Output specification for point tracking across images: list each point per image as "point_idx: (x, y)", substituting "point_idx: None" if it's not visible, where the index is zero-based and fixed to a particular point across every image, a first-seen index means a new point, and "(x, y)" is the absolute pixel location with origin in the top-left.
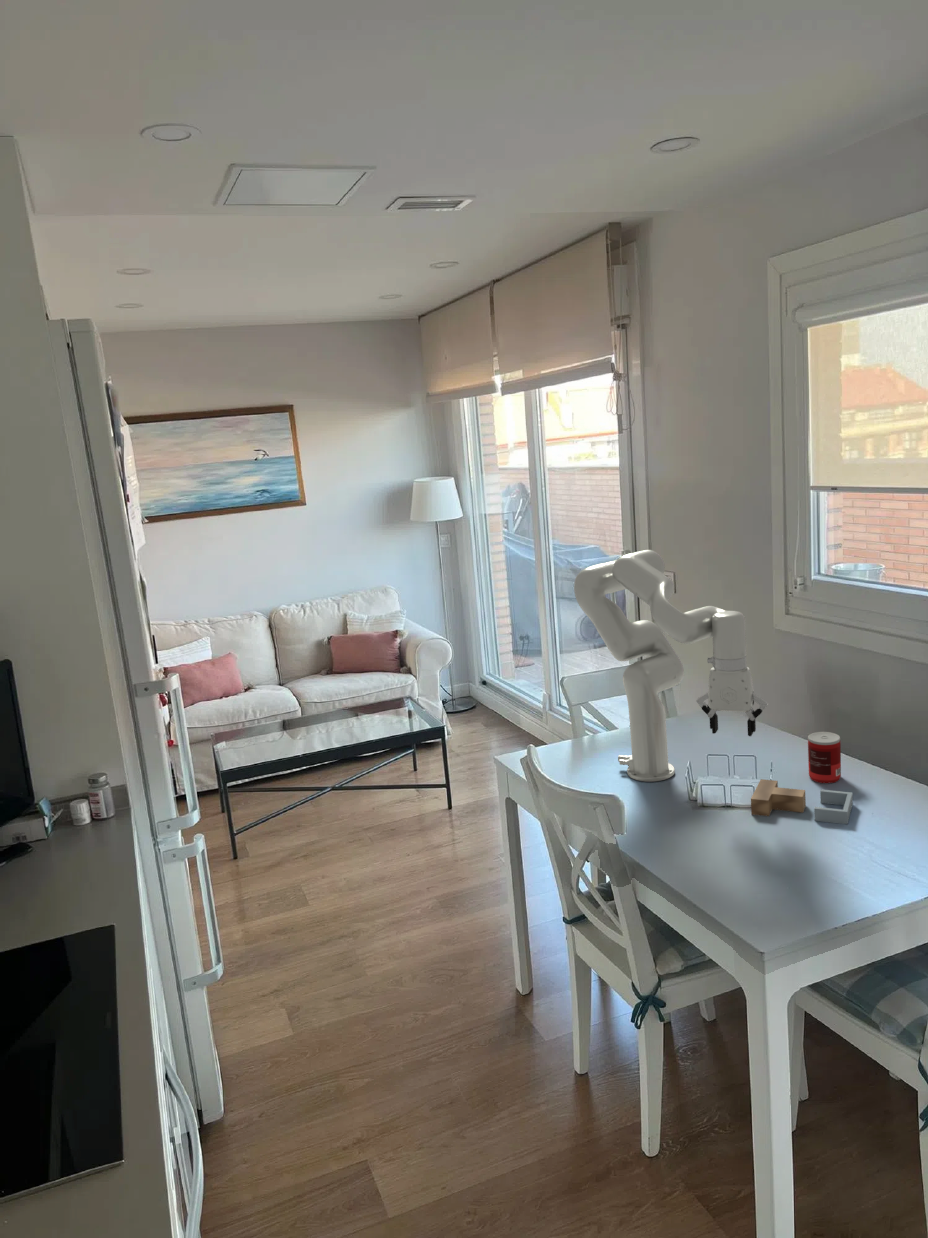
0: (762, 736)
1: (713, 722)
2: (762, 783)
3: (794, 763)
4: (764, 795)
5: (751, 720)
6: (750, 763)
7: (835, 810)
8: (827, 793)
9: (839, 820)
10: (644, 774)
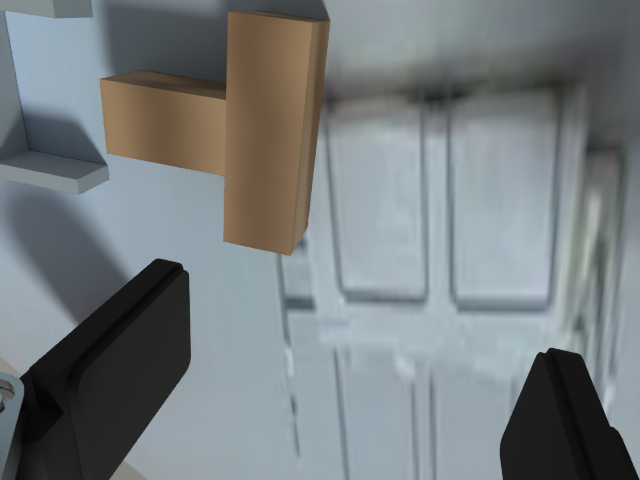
0: None
1: (599, 466)
2: (278, 213)
3: (232, 441)
4: (253, 76)
5: (38, 396)
6: (360, 454)
7: None
8: (58, 173)
9: None
10: None
